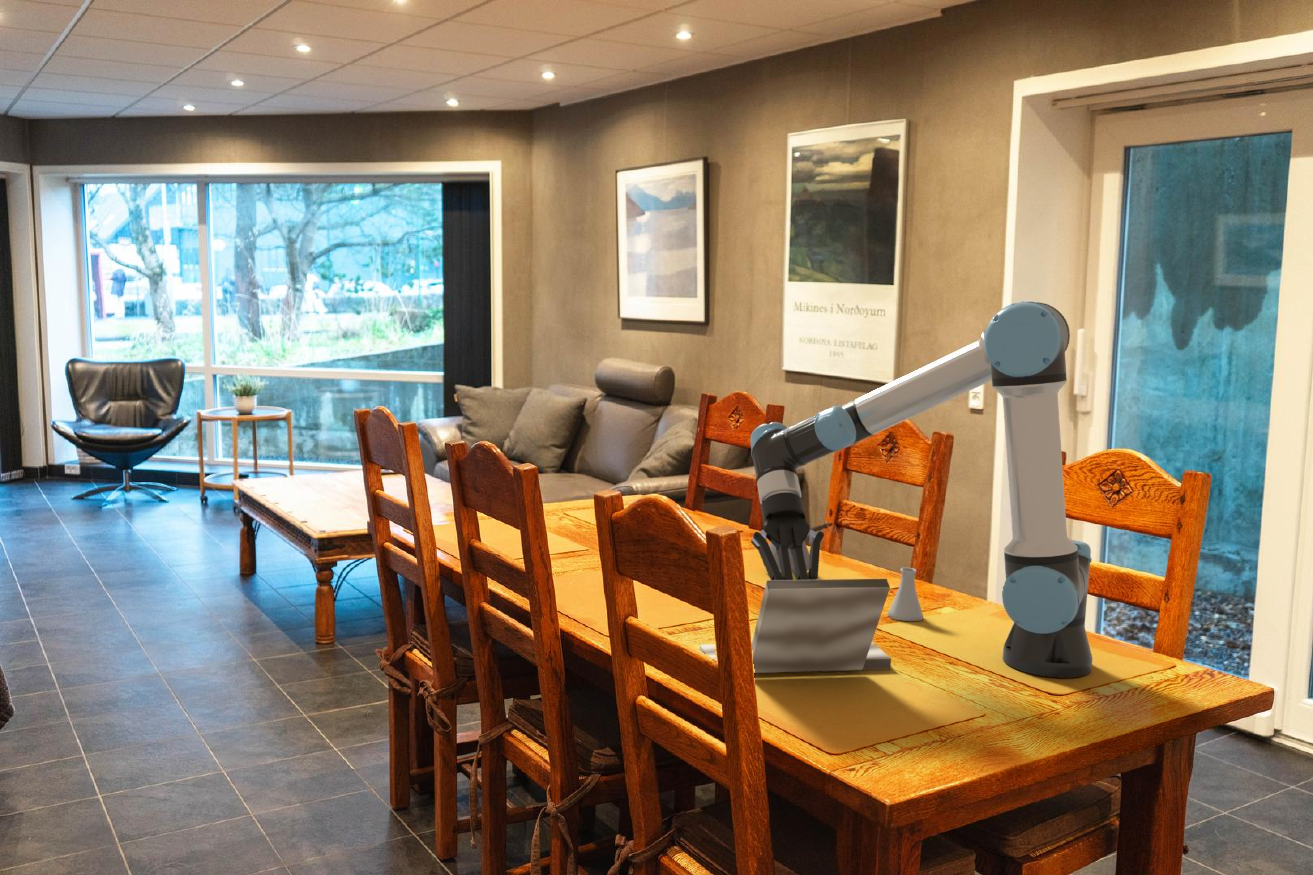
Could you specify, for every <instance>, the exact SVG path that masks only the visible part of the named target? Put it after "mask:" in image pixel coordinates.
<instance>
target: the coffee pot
mask: <svg viewBox="0 0 1313 875" xmlns="http://www.w3.org/2000/svg"><path fill="white" fill-rule="evenodd" d="M832 526H834V530H832V531H831V530H830V529H829V528H830V527H832ZM810 529H811V530H813V531H815V532H819V531H822V530H824V529H825V530H827V531H829V532H830V533H834V532H835V531H836V530H837V527H836V525H835V524H834V523H833V522H828V523H826V522H825V523H823V524H818V525H815V526H813V527H810ZM768 545H769V547H770V549H771V551H772V554H773V556H774V558H775V561H776V563H777V565H778V568H779V570H780V565H779V559H778V555H777V552H776V547H775V546H774V545H773V544H772V543H771V542H770V543H769V544H768ZM802 550H803V555H804V560H805V565H806V571H807V572H808V570H809V556H810V551H809V549H808V547H807V544H806V540H804V542H803V543H802ZM788 553H789V559H790V564H791V570H792V573H793V574H794V575H795V578H796V572H795V567H794V562H793V556H792V555H791V550H790V549H788ZM762 563H763V562H762ZM763 566H764V567H765V565H764V563H763Z"/></svg>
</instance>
